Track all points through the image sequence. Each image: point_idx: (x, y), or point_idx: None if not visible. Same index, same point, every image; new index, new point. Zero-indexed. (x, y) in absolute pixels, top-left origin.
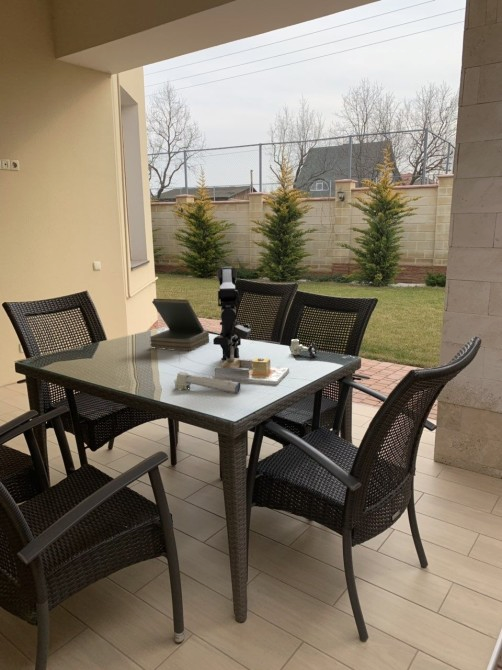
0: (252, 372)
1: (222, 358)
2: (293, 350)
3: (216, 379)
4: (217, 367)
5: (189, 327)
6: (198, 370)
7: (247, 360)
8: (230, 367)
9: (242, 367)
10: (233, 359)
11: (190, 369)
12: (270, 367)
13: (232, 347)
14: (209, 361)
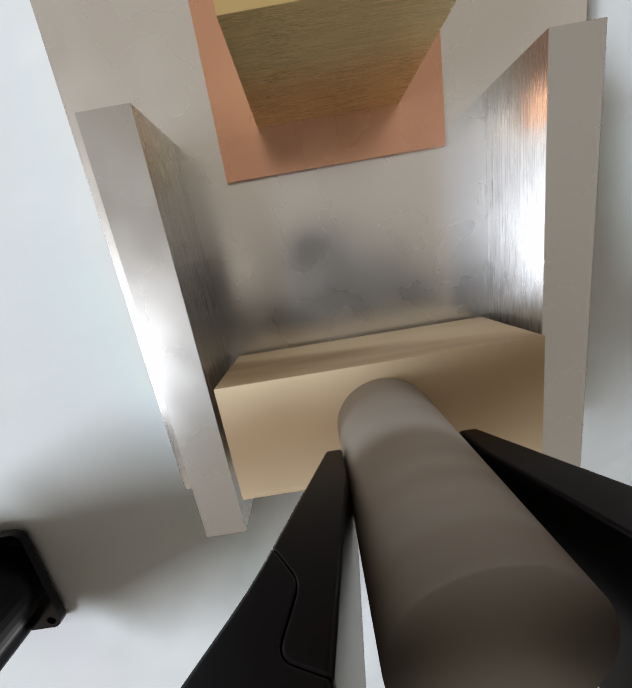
0: (403, 88)
1: (49, 619)
2: None
3: None
4: (576, 449)
5: None
6: (368, 605)
7: (177, 282)
8: (548, 318)
9: (235, 326)
10: (398, 389)
11: (367, 652)
12: (72, 3)
13: (546, 563)
14: (150, 652)
